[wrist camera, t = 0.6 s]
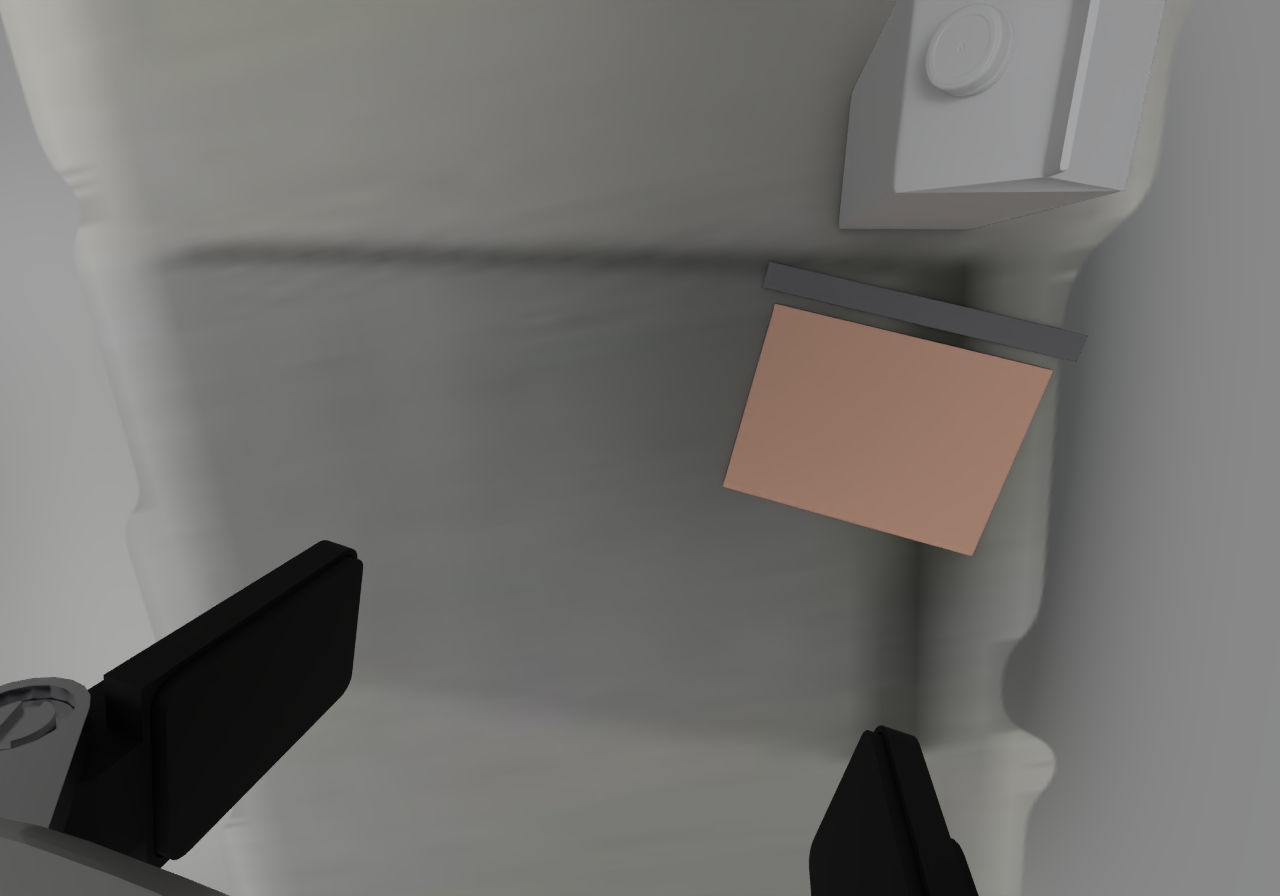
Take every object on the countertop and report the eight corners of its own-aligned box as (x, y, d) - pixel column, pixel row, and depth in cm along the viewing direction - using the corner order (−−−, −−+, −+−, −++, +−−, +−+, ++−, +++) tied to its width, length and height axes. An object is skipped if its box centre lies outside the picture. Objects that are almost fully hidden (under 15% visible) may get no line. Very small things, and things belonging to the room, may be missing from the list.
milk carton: (992, 86, 32) (1302, -175, 14) (970, 230, 34) (1215, 168, 16) (851, 91, 33) (962, -141, 15) (837, 229, 35) (921, 172, 17)
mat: (775, 303, 36) (775, 303, 36) (1049, 369, 35) (1053, 370, 34) (723, 484, 40) (722, 486, 40) (969, 553, 38) (971, 556, 38)
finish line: (769, 261, 36) (769, 261, 36) (1085, 335, 34) (1088, 335, 33) (762, 287, 36) (762, 287, 36) (1073, 361, 34) (1076, 361, 34)
